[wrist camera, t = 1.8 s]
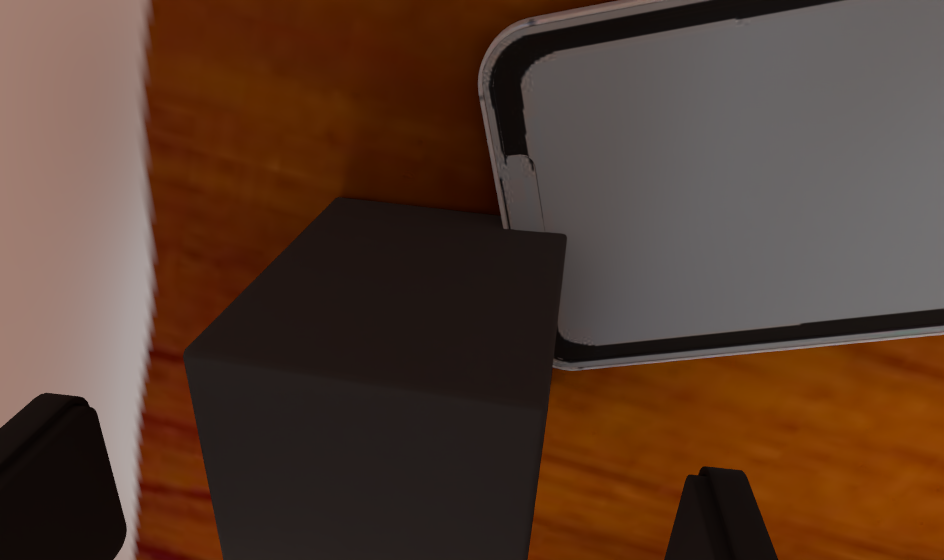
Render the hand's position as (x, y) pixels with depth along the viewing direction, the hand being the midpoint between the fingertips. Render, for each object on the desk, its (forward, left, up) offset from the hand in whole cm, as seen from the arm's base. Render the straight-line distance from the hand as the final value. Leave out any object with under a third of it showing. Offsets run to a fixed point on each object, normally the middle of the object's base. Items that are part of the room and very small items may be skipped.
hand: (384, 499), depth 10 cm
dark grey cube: (0, 0, -5) cm, 5 cm away
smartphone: (-5, +9, -6) cm, 11 cm away
